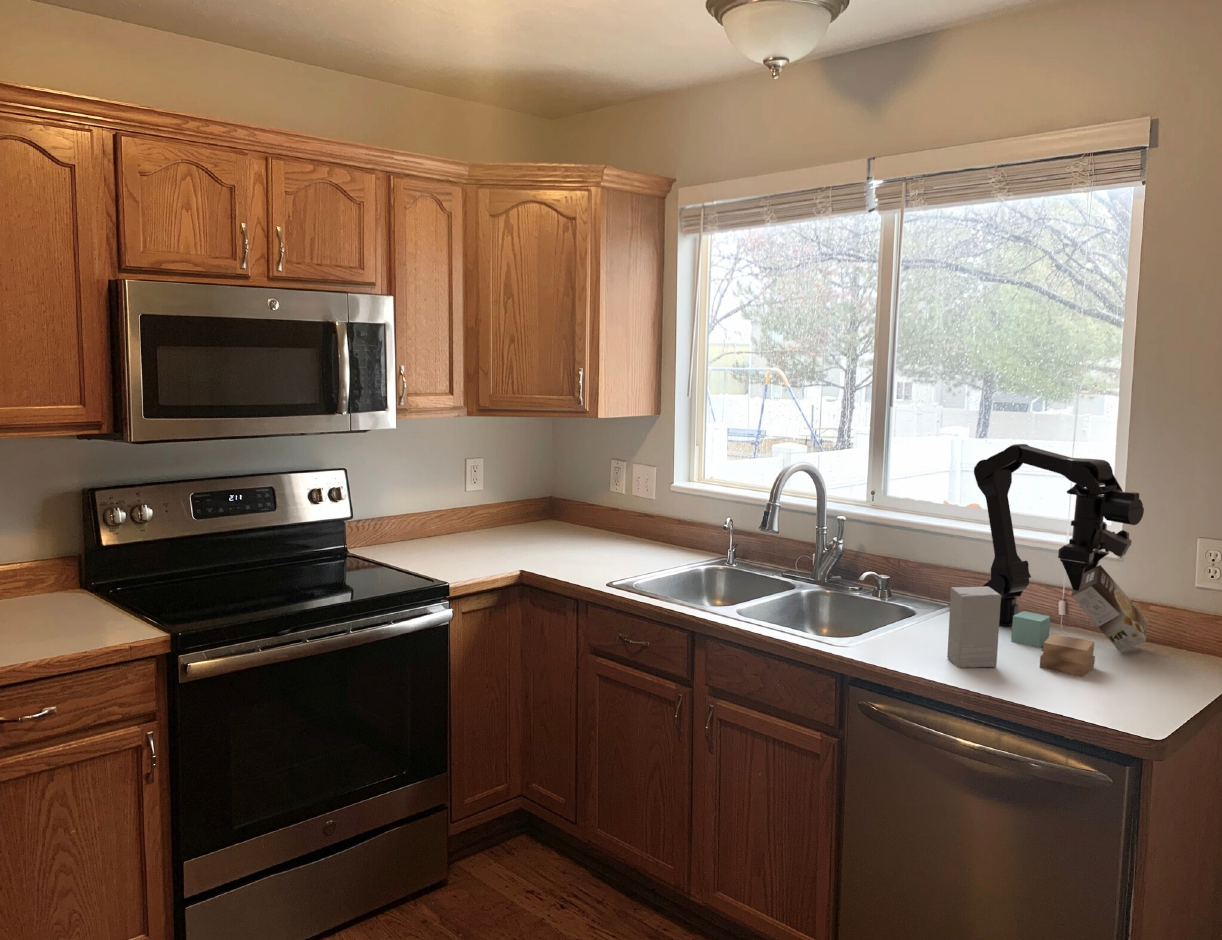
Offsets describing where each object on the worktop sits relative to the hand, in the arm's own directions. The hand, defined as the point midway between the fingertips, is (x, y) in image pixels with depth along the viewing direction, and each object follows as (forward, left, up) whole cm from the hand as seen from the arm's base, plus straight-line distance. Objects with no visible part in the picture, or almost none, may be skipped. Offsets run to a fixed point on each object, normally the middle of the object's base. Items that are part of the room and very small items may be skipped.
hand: (1082, 586), depth 208 cm
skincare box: (-11, -31, -14) cm, 35 cm away
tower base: (+4, -19, -14) cm, 23 cm away
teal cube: (-8, -6, -13) cm, 17 cm away
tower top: (+4, -19, -11) cm, 22 cm away
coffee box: (+10, +5, -10) cm, 15 cm away
